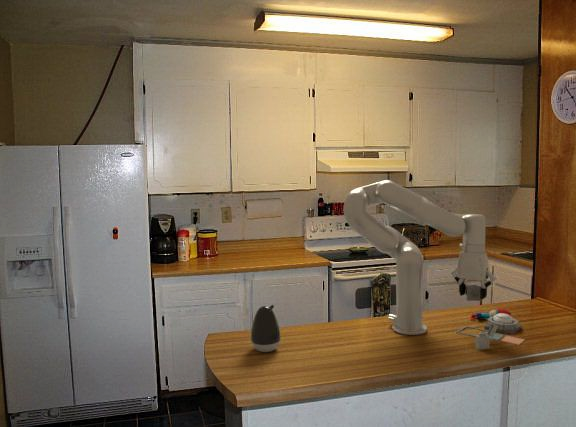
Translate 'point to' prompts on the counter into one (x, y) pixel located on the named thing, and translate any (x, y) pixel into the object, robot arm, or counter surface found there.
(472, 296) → the dice cube
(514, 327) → the dome base
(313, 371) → the counter surface
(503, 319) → the dome
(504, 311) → the toy figure
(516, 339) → the sorting mat
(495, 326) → the lighter
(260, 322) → the pump dispenser
